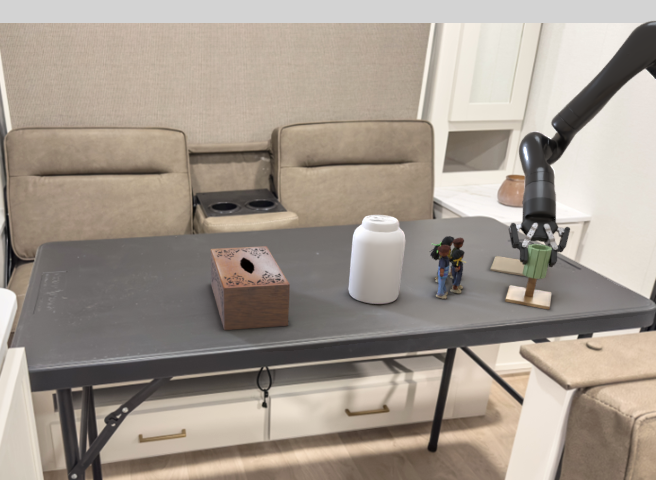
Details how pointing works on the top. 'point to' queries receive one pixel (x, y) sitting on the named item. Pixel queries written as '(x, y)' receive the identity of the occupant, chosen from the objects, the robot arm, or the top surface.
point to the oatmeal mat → (507, 265)
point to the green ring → (537, 261)
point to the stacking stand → (529, 295)
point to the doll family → (445, 257)
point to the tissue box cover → (249, 288)
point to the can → (377, 260)
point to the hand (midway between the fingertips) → (538, 264)
